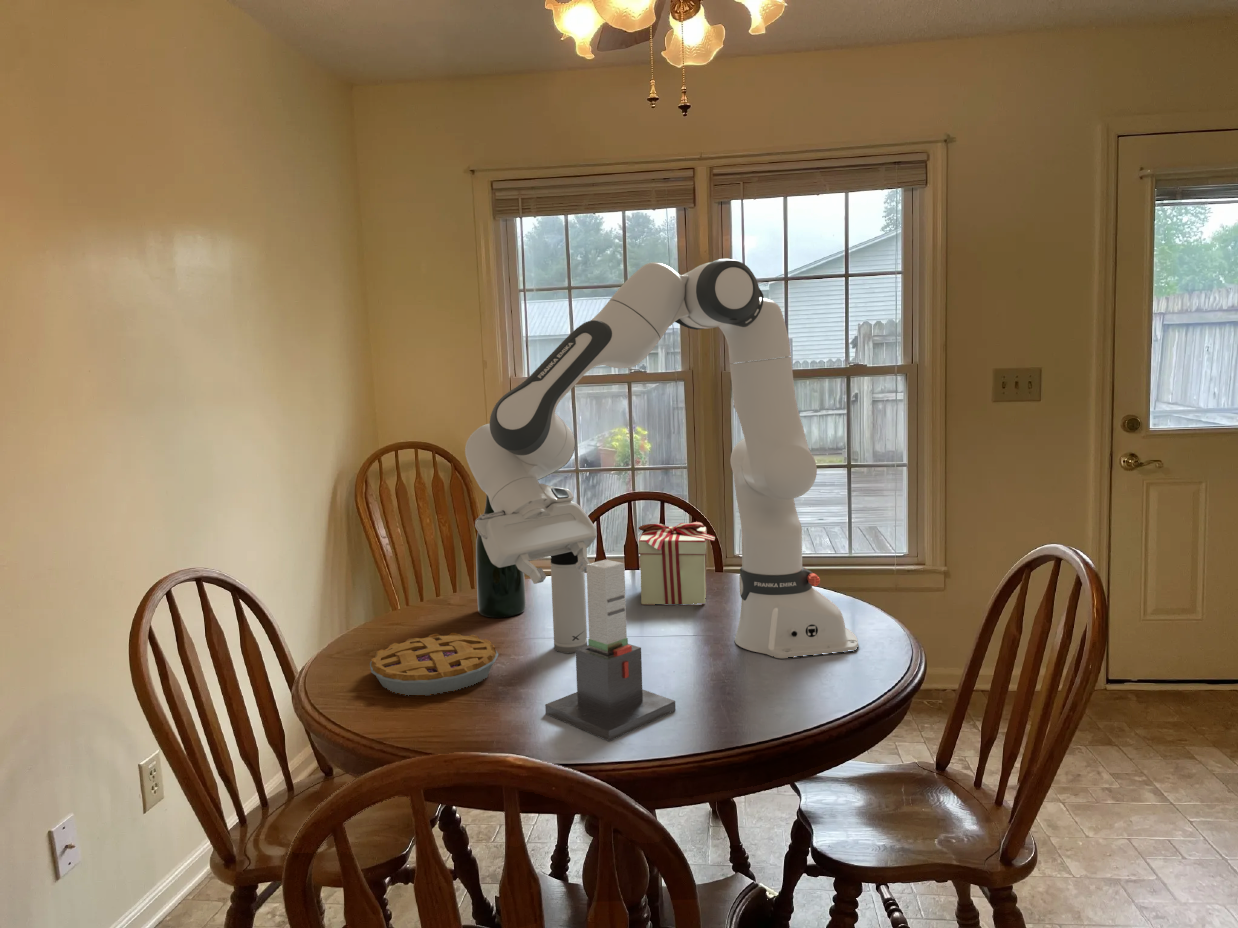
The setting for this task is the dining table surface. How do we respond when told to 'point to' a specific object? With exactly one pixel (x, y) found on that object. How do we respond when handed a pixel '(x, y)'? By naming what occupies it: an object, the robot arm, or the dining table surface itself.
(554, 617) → the travel mug
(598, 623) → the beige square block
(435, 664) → the pie
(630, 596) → the dining table surface
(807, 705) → the dining table surface
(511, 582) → the green wine bottle
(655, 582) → the gift box
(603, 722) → the grey square socket stand
